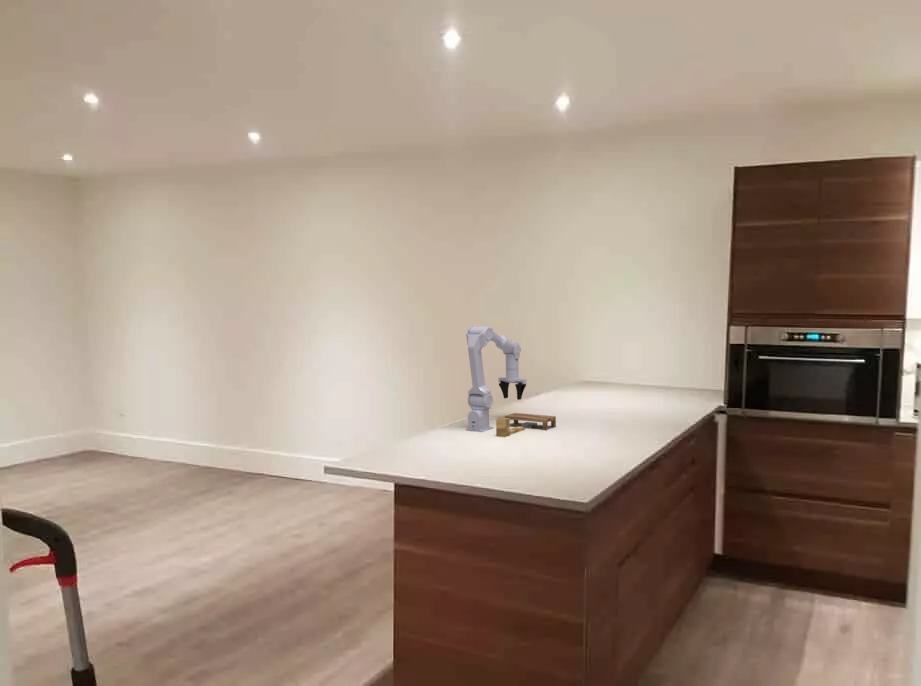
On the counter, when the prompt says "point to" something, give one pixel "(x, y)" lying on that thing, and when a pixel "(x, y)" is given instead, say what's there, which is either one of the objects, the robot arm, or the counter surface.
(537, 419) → the shelf
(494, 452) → the counter surface
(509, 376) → the robot arm
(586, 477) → the counter surface
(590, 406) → the counter surface
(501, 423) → the tool
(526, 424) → the plate
